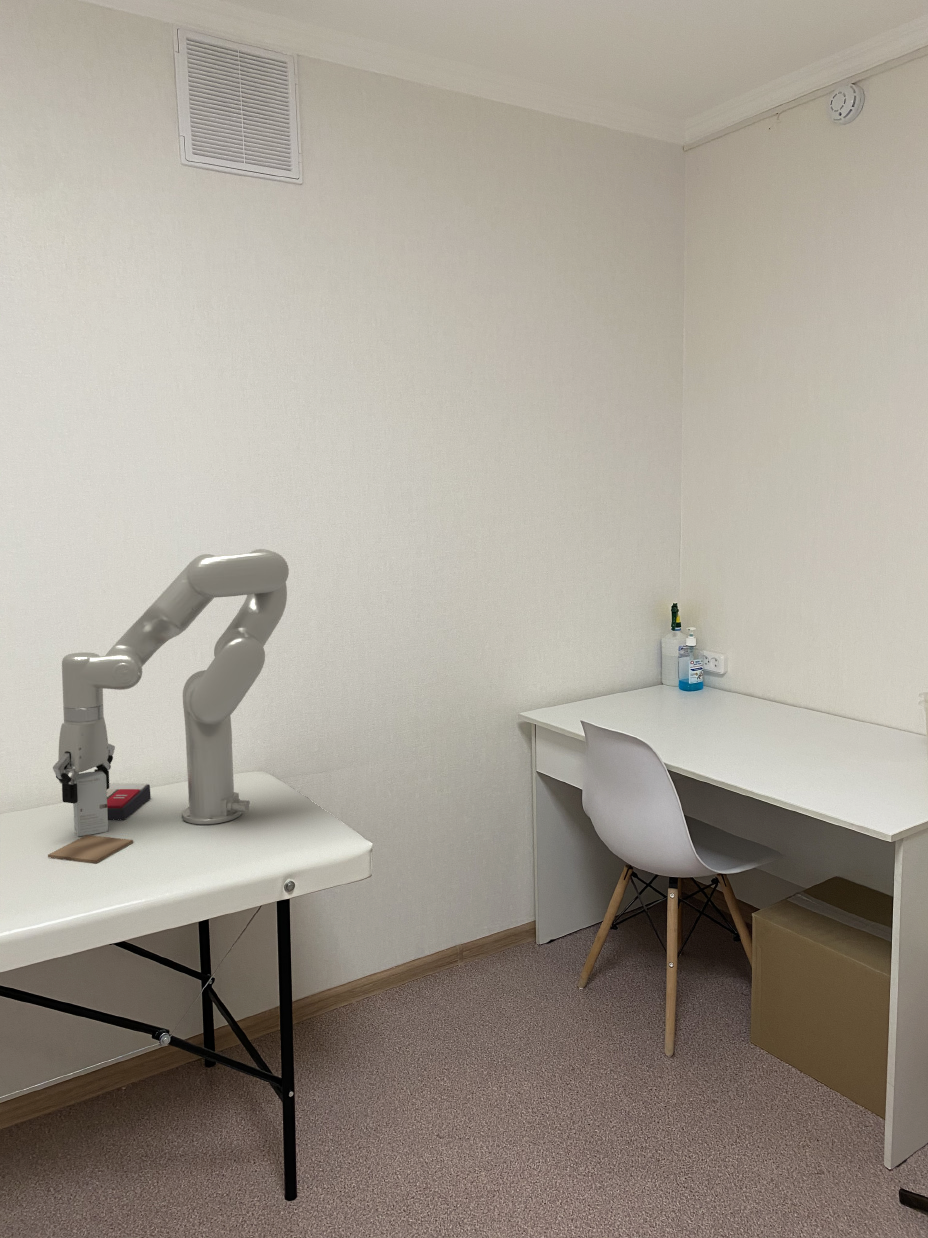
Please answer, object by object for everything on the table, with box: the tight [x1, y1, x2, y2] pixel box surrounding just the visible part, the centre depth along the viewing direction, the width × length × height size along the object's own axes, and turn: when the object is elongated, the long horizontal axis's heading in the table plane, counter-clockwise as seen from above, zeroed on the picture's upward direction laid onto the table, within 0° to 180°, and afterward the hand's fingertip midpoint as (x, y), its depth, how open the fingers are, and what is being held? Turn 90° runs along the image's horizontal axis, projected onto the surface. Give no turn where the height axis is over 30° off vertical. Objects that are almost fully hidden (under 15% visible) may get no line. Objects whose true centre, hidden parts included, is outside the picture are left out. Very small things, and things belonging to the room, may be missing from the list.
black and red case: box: [107, 782, 152, 822], centre depth 203 cm, size 11×4×15 cm
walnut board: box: [47, 834, 134, 864], centre depth 179 cm, size 11×11×1 cm
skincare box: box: [72, 770, 109, 837], centre depth 189 cm, size 6×4×12 cm
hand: (86, 795), depth 189 cm, fingers open, 9 cm apart
